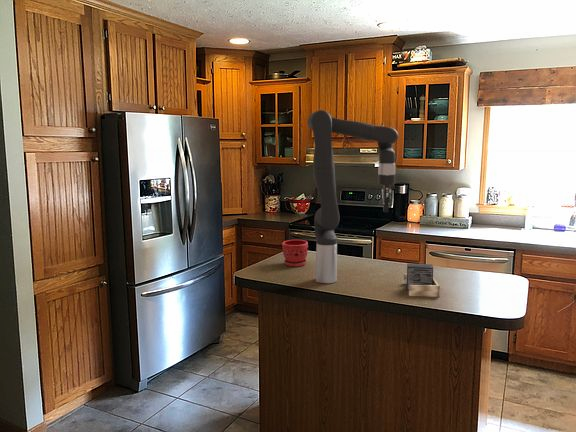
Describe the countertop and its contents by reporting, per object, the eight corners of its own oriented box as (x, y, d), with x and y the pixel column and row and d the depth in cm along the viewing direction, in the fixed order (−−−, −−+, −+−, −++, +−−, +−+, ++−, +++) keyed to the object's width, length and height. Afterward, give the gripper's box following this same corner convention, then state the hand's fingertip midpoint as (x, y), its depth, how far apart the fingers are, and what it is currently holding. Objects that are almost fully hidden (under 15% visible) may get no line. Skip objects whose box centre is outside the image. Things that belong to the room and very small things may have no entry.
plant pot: (281, 262, 245) (281, 239, 244) (305, 261, 247) (305, 239, 245) (283, 268, 233) (283, 244, 231) (309, 267, 234) (309, 244, 232)
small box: (431, 287, 199) (432, 263, 197) (432, 292, 193) (433, 267, 191) (406, 286, 201) (407, 262, 200) (406, 290, 195) (407, 266, 194)
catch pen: (409, 295, 188) (409, 285, 187) (403, 283, 205) (403, 273, 205) (439, 296, 187) (439, 286, 186) (431, 284, 204) (431, 274, 203)
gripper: (377, 172, 214) (376, 210, 217) (379, 174, 201) (378, 214, 204) (394, 172, 213) (393, 210, 216) (396, 174, 200) (395, 214, 203)
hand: (385, 212), depth 210 cm, fingers closed
